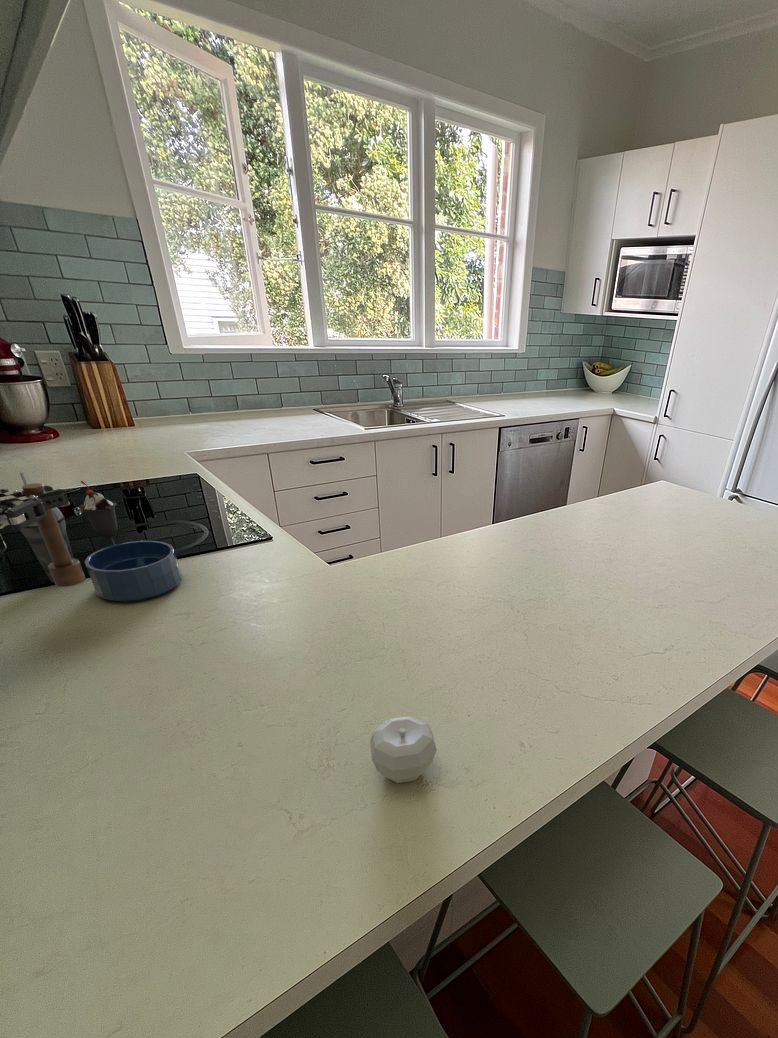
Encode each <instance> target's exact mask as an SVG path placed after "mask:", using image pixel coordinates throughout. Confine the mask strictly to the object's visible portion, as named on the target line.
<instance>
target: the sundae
mask: <svg viewBox="0 0 778 1038" xmlns="http://www.w3.org/2000/svg"><path fill="white" fill-rule="evenodd" d="M80 483H81V484H83V485H85V486H86V488H87V490H86V491H85V495H86V496H85V498H84V501H83V504H81V505H79V506H78V510H79V511H80V512H81V513H84V514H85V515H86V516H85V517H86V518H87V519H88V521H89V523H90V525H91V527H92V529H93V530H94V531H95V533H96V534H97V535H99V536H101V537H104V538H105V539H106V542H107V545H108V546H107V547H109V546H113V545H116V544H117V543H115V540H114V538H113V537H114V535H115V534H116V533H117V531H118V522H117V516H116V509H115V507H116V506H117V505H118V503H117V502H114V501H110V500H109V499H107V498H105V497H104V495H103V494H101V493H99V492H96V491H93V490H92V489H90V487H89V486H88V485H87V484H86V483H85V482H84V480H80Z"/></svg>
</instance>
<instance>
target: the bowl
mask: <svg viewBox="0 0 778 1038" xmlns="http://www.w3.org/2000/svg"><path fill="white" fill-rule="evenodd" d="M115 544H116V545H113V546H109V547H108V546H106V547H103V548H100V549H99V550H96V551H94V552H92V553H90V554H89V555H88V556H87V557H86V558H85V560H84V566H85V568H86V570H87V574H88V576H89V578H90V582H91V584H92V587H93V589H94V591H95V593H96V596H98V597H99V598H102V599H104V600H109V601H114V602H118V603H119V602H121V603H130V602H131V603H132V602H140V601H141V602H142V601H146V600H150V599H154V598H157V597H159V596H162V595H165V594H167V593H168V592H170V591H172V590H173V589H174V588H175V587H176V586H177V585H179V583H181V581H182V576H183V575H182V572H181V568H180V564H179V561H178V558H177V555H176V551H175V548H174V547H173V546H172V544H170V543H167V542H164V541H158V540H137V541H136V540H135V541H126V542H122V543H115Z"/></svg>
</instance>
